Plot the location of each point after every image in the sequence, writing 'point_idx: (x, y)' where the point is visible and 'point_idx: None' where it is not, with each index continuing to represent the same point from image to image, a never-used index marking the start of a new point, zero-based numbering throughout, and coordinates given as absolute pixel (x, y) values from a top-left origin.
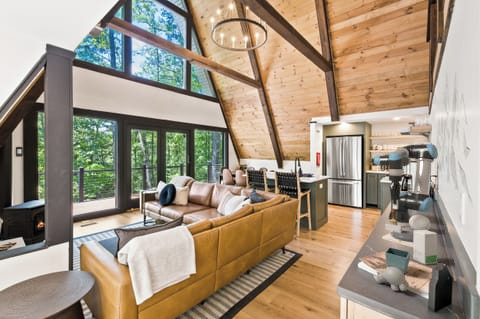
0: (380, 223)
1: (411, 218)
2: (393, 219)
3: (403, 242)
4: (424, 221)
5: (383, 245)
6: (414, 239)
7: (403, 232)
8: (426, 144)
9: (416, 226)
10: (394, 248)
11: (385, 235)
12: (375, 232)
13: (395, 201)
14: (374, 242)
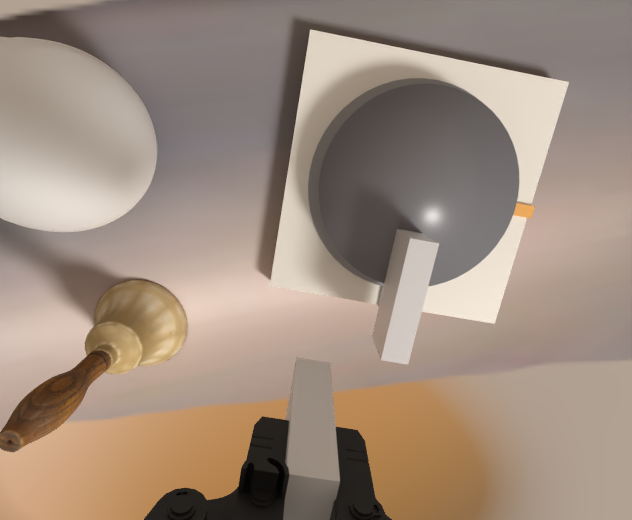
0: (113, 414)
1: (81, 209)
2: (117, 352)
3: (534, 187)
4: (90, 79)
5: (619, 281)
6: None
7: (389, 218)
8: None
9: (155, 156)
10: None
11: (456, 313)
12: (376, 383)
13: (361, 474)
14: (594, 335)
